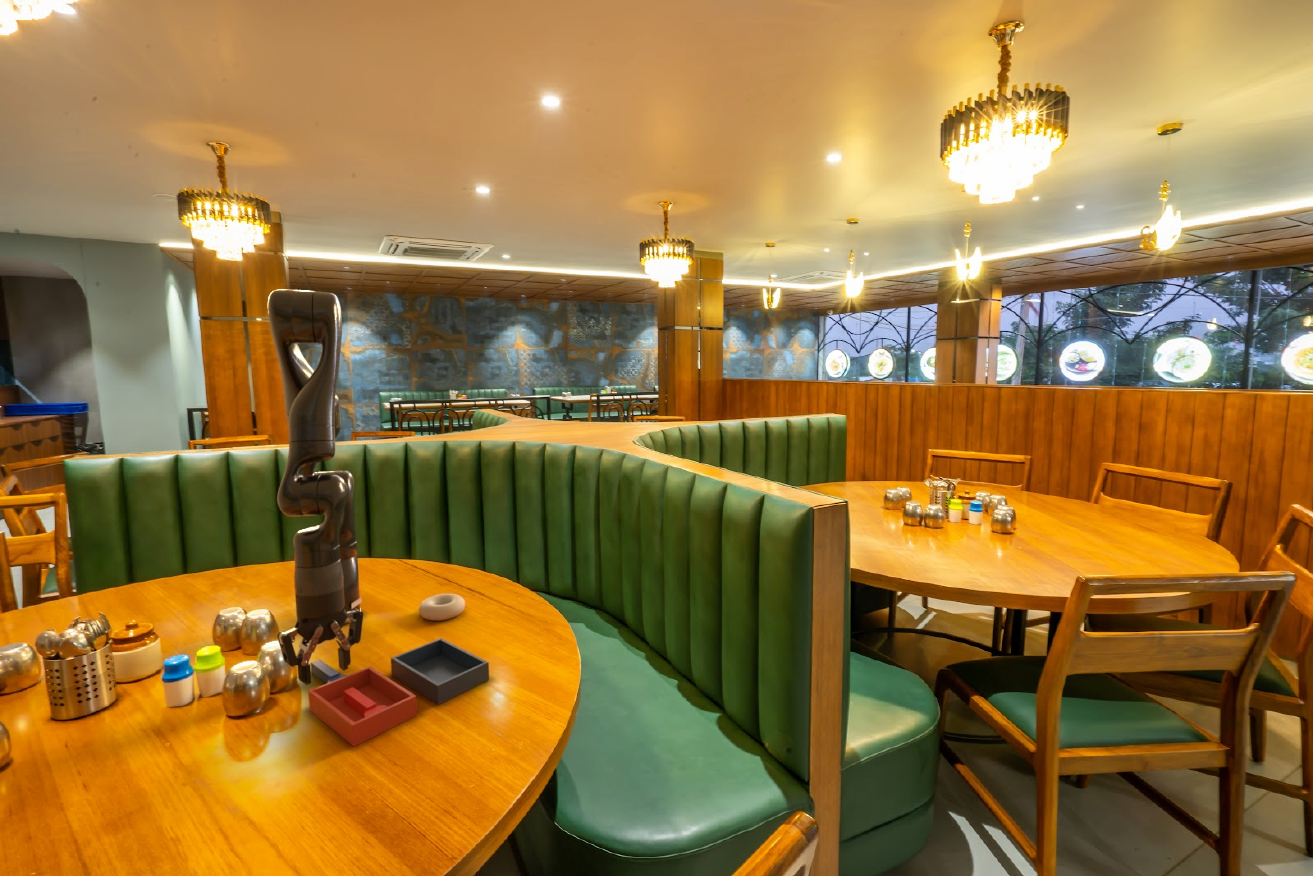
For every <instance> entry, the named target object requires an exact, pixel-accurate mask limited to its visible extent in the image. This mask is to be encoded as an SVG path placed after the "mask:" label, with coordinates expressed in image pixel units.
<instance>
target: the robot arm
mask: <svg viewBox="0 0 1313 876" xmlns="http://www.w3.org/2000/svg"><path fill="white" fill-rule="evenodd" d="M267 315H268V322H269V328H270V332H271V336H272V340H273V345H274V348H275V352H276V357H277V362H278V365H279V370H280V376H281V380H282V382H281V383H282V392H283V399H284V407H285V408H284V409H285V415H286V421H287V427H288V454H287V460H286V465H285V467H284V468H285V469H284V471H283V475H282V479H281V481H280V484H279V486H278V491H277V496H276V501H277V502H276V503H277V505H278V508H279V510H280V512H281V513H283V515H285V516H287V517H292V518H298V517H299V518H300V517H313V516H314V517H315V516H324V520H323V522H322V523H319V524H317V525H314V526H309V527H306V528H303V529H299V530H298V531H296V533H294V535H293V538H292V539H293V540H292V542H293V557H294V559H293V560H294V574H293V581H294V583H293V585H294V596H295V611H296V618H297V619H296V623H295V625H294V627H293V628H290V629H289V630H287V631H284V630H280V631H278V633H277V635H276V637H277V641H278V644H279V647H280V651H281V654H282V658H283V661H284V663H286V664H287V665H289V666H290V667H292V668H293V667H295V666H297V674H298V675H297V678H298V680H299V681H300V682H301V683H302V684H304V685H306V686H309V685H310V684H312V673H311V663H310V660H311V657H312V654H313V653H314V652H315V650H316V648H317V646H318V645H320V644H323V643H325V642H327V641H332V640H334V641H335V642H336V644H337V645H338V646H339V647H338V648H337V657H338V658H337V659H338V668H339V669H340V670H342V671H347V670H348V669H349V666H350V665H351V663H352V662H351V661H352V660H351V648H352V647H353V646H354V645H355V644H359V643H360V642H361V640H362V631H363V622H364V612H363V611H362V608H361V603H362V602H363V601H362V596H361V594H360V593H361V592H360V576H359V574H360V573H359V559H358V547H357V546H358V543H357V531H356V484H355V480H354V475H353V474H352V473H351V472H350V470H329V471H315V469H316V467H317V465H318V463H320V462H321V463H322V462H325V461H329V460H331V459H333V458H334V457H335V455H336V439H337V437H338V436H339V434H340V431H341V429H342V415H341V405H340V398H339V396H338V395H337V388H338V381H339V372H340V362H341V350H342V339H343V338H342V337H343V314H342V306H341V302H340V300H339V298H338V296H337V295H336V294H335V293H332V292H328V291H327V292H326V291H315V290H301V289H299V290H298V289H275V290H272V292H270V294H269V296H268V300H267ZM299 344H305V345H306V344H307V345H320V346H321V348H320V355H319V359H318V361H317V364H316V366H315V368H313V366H311V364H310V363H309V362H308V361H307V359H306V358H305V355H304V354H303V353H302V350H301V347H300V346H299ZM348 623H349V624H348ZM345 624H348V632H347V633H348V634H347V635H346V634H345V633H344V631H343V630H342V628H343V626H344V625H345ZM297 635H299V636H300V637H301V638H300V639H301V640H300V642H299V643H298V644H299V645H298V652H297V654H296V652H295V651H296V650H295V648H294V644H293V643H295V641H296V636H297Z"/></svg>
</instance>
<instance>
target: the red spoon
mask: <svg viewBox="0 0 1313 876" xmlns="http://www.w3.org/2000/svg"><path fill="white" fill-rule="evenodd" d="M343 692H344V702H345V703H346V704H348V705H349V706H350V707H352V708H353V709H354V710H356V711H357V712H358V713H360V714H361V715H362V716H364V718H365V717H367V716H369V715H372V714H374V713H376V712H378V711H380V710H382V709H385V708H387V706H385V705H378V706H377V705H376V703H375V702H373V701H372V700H370V699H369V698H368V697H366V696H365V695H363V694H362V693H361V692H359V691H358V690H356V689H355V688H354V687H352V688H349V689H347V690H344V691H343Z"/></svg>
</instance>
